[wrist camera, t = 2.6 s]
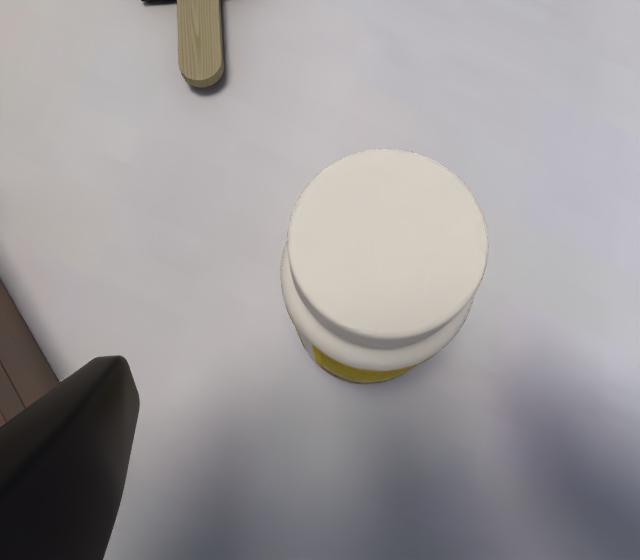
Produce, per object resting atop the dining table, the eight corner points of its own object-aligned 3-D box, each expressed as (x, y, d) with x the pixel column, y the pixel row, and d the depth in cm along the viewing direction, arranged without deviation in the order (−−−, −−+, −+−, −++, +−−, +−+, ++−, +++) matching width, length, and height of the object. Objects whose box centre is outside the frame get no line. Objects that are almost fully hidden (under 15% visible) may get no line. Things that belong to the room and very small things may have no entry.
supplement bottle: (456, 331, 17) (564, 264, 9) (350, 412, 17) (368, 416, 9) (373, 229, 19) (405, 90, 10) (271, 303, 18) (219, 215, 10)
